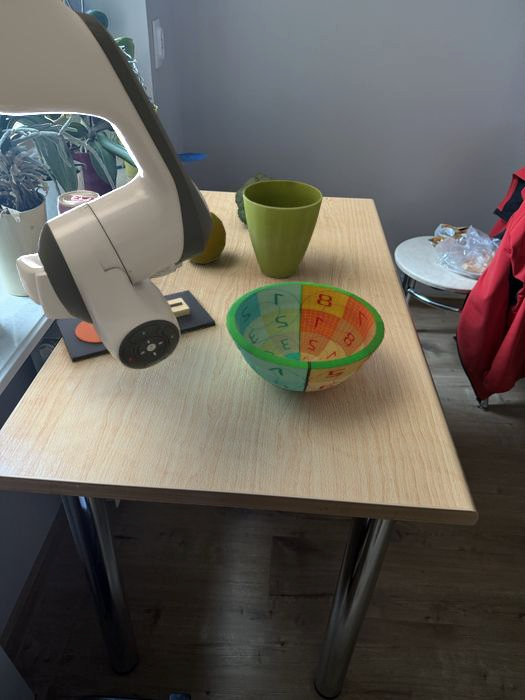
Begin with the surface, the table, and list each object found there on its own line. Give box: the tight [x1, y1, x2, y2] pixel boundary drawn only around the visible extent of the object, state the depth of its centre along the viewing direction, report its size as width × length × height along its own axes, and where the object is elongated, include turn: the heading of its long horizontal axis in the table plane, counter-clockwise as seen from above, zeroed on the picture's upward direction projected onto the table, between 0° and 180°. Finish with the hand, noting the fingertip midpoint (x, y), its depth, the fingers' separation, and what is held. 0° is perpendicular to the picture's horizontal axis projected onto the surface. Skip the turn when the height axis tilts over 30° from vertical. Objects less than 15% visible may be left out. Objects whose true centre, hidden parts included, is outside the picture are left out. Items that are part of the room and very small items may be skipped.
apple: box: [188, 211, 227, 264], centre depth 108 cm, size 10×10×11 cm
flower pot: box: [243, 179, 324, 279], centre depth 103 cm, size 15×15×16 cm
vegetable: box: [234, 172, 279, 226], centre depth 126 cm, size 12×13×15 cm
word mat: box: [55, 289, 216, 363], centre depth 90 cm, size 24×12×2 cm, turn 118°
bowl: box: [225, 281, 386, 392], centre depth 78 cm, size 22×22×10 cm
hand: (85, 242), depth 78 cm, fingers closed on beverage can, 6 cm apart
